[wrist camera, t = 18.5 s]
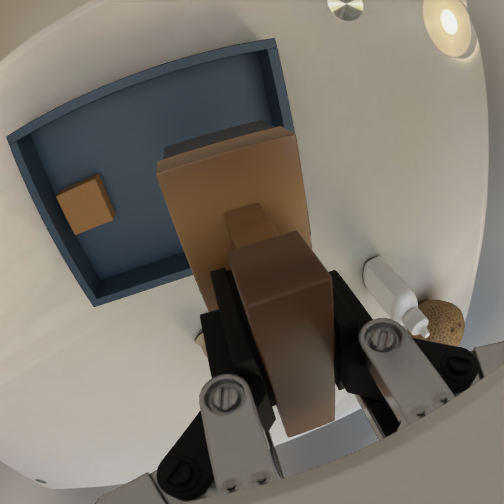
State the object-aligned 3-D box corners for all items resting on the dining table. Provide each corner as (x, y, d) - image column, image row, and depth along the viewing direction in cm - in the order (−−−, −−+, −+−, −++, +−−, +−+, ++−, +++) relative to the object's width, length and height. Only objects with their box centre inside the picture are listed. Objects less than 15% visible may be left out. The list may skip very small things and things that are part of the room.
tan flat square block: (60, 190, 24) (55, 196, 23) (98, 173, 24) (95, 178, 23) (78, 227, 26) (74, 235, 25) (115, 212, 26) (113, 220, 25)
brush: (158, 149, 12) (147, 265, 5) (266, 118, 12) (390, 189, 5) (223, 326, 17) (260, 460, 11) (299, 301, 18) (364, 422, 11)
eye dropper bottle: (353, 291, 40) (402, 357, 30) (367, 254, 37) (425, 318, 27) (379, 289, 41) (428, 350, 31) (393, 254, 39) (451, 313, 29)
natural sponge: (444, 301, 48) (477, 338, 40) (407, 334, 50) (438, 374, 42) (433, 276, 44) (473, 316, 35) (392, 314, 45) (427, 359, 37)
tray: (23, 128, 20) (5, 136, 18) (261, 41, 22) (275, 37, 19) (98, 285, 30) (93, 307, 27) (297, 218, 32) (311, 235, 29)
